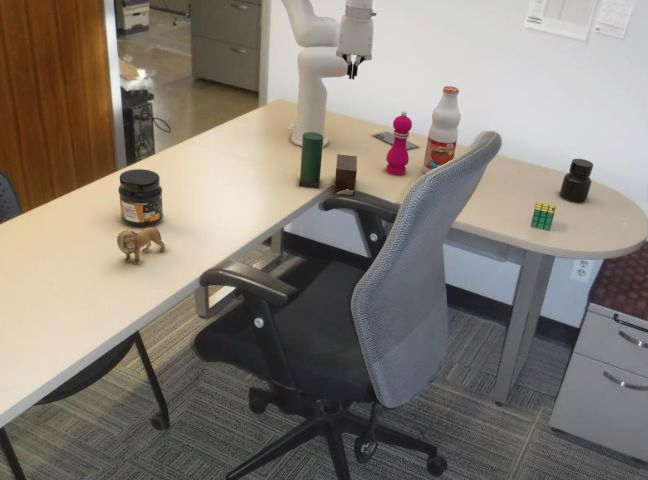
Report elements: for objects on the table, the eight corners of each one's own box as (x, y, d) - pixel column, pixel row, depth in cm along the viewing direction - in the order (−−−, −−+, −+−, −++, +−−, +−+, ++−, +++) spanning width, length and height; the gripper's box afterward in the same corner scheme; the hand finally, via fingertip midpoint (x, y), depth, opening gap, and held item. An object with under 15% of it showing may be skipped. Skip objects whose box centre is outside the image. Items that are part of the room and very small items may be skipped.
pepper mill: (407, 169, 238) (416, 109, 227) (405, 177, 232) (415, 116, 221) (385, 166, 238) (393, 106, 227) (383, 174, 232) (392, 113, 221)
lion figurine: (132, 273, 163) (129, 238, 158) (112, 266, 165) (109, 231, 160) (170, 248, 175) (169, 214, 170) (152, 242, 176) (150, 208, 172)
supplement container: (125, 231, 180) (122, 186, 173) (117, 212, 187) (113, 169, 180) (168, 226, 184) (166, 183, 178) (158, 209, 192) (156, 166, 185)
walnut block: (333, 194, 214) (336, 168, 210) (335, 178, 224) (337, 154, 220) (353, 196, 214) (356, 170, 210) (354, 180, 224) (356, 156, 220)
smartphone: (403, 149, 252) (372, 134, 261) (403, 151, 252) (372, 135, 261) (418, 146, 257) (387, 131, 266) (418, 147, 257) (387, 132, 266)
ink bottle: (589, 197, 237) (600, 162, 230) (584, 205, 230) (595, 170, 223) (561, 189, 240) (570, 154, 233) (555, 197, 233) (564, 162, 226)
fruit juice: (442, 166, 244) (457, 83, 229) (455, 177, 237) (471, 92, 221) (417, 168, 240) (431, 83, 225) (430, 179, 233) (444, 92, 218)
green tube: (303, 194, 217) (279, 148, 209) (304, 186, 222) (281, 141, 214) (341, 179, 215) (318, 131, 206) (341, 171, 220) (319, 124, 211)
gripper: (383, 13, 209) (376, 77, 219) (332, 7, 208) (327, 72, 218) (384, 19, 203) (376, 84, 213) (331, 12, 201) (326, 78, 211)
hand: (351, 78), depth 215 cm, fingers closed
